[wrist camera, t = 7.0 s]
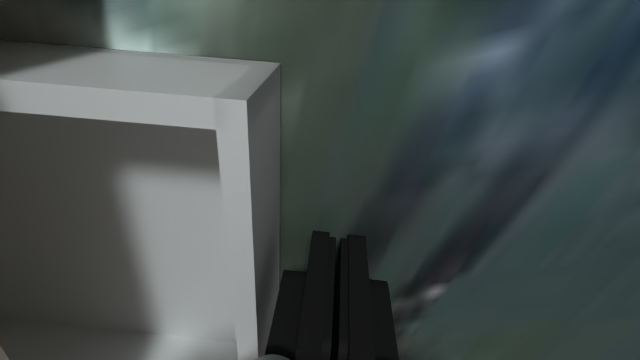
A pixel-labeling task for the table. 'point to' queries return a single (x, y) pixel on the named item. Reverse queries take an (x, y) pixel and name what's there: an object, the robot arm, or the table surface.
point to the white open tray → (137, 204)
